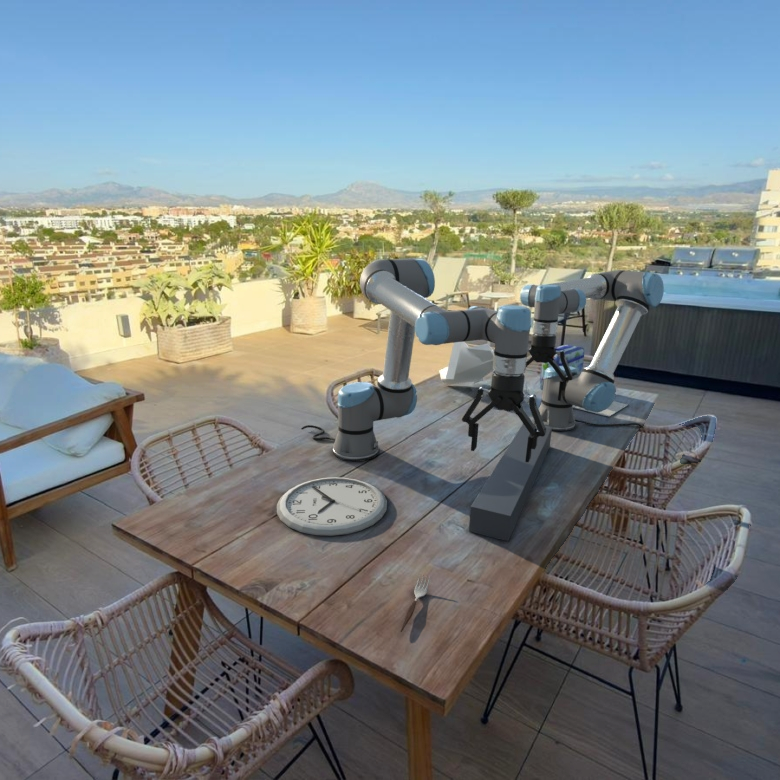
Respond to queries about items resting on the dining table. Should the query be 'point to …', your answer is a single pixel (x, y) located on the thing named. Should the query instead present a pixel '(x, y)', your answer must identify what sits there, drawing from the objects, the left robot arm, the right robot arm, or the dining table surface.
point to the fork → (418, 593)
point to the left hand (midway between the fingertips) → (500, 454)
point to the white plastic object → (470, 364)
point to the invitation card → (608, 409)
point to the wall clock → (331, 506)
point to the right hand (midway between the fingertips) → (538, 396)
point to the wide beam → (508, 487)
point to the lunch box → (572, 356)
